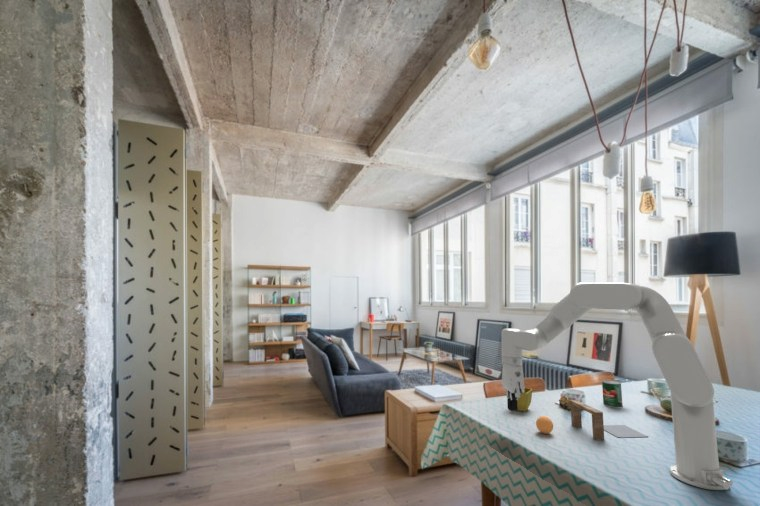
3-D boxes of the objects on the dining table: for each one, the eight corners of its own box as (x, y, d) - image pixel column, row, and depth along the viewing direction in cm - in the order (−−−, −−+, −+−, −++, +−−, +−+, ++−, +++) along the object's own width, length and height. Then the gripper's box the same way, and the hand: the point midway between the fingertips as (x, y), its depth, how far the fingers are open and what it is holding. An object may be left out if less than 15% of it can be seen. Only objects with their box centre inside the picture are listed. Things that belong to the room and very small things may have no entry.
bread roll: (582, 419, 163) (590, 403, 163) (560, 408, 165) (567, 392, 165) (575, 412, 173) (582, 397, 173) (554, 401, 175) (561, 387, 175)
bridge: (604, 439, 131) (602, 412, 132) (596, 440, 131) (595, 412, 132) (578, 424, 146) (577, 400, 147) (571, 425, 145) (570, 400, 147)
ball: (556, 435, 134) (556, 419, 135) (541, 436, 134) (540, 419, 134) (548, 429, 140) (547, 413, 141) (533, 430, 140) (532, 414, 140)
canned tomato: (622, 404, 174) (620, 381, 175) (623, 408, 167) (621, 384, 168) (603, 401, 178) (601, 379, 179) (603, 405, 171) (601, 382, 173)
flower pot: (528, 414, 159) (527, 393, 160) (508, 410, 164) (507, 389, 165) (533, 409, 166) (532, 388, 167) (513, 405, 171) (513, 385, 172)
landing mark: (648, 437, 134) (648, 436, 134) (618, 437, 133) (618, 437, 133) (624, 425, 146) (624, 424, 146) (596, 426, 145) (596, 425, 145)
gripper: (530, 365, 132) (531, 416, 130) (512, 357, 147) (513, 403, 145) (511, 364, 131) (511, 416, 129) (494, 357, 146) (495, 403, 144)
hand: (512, 409), depth 137 cm, fingers closed
